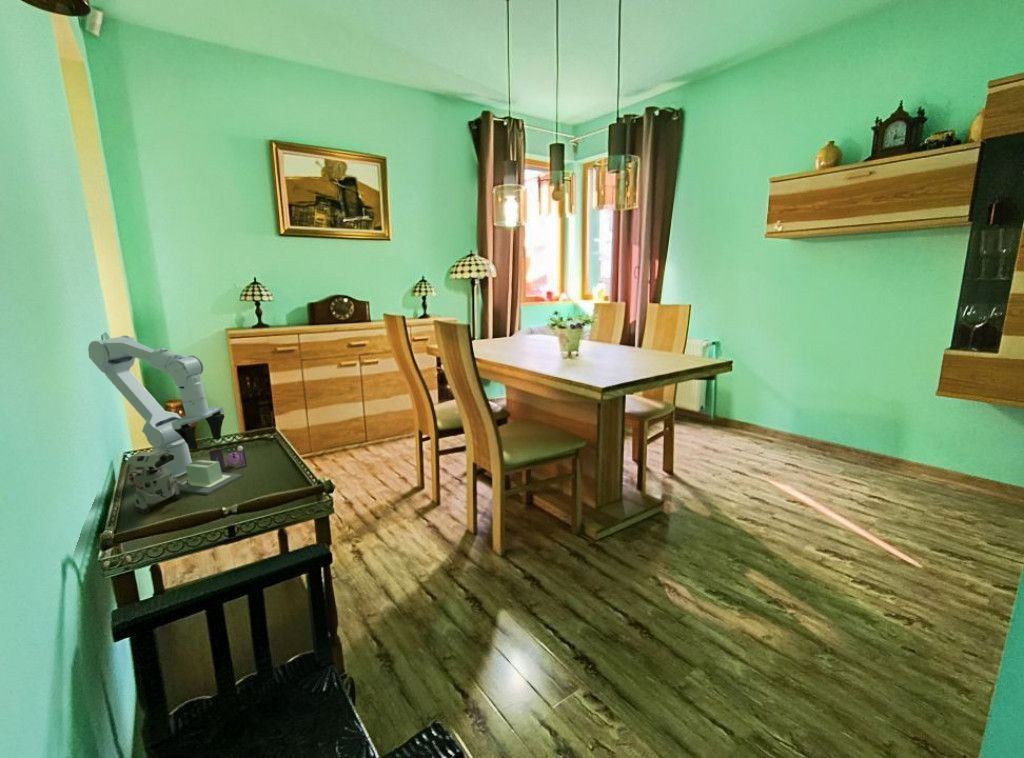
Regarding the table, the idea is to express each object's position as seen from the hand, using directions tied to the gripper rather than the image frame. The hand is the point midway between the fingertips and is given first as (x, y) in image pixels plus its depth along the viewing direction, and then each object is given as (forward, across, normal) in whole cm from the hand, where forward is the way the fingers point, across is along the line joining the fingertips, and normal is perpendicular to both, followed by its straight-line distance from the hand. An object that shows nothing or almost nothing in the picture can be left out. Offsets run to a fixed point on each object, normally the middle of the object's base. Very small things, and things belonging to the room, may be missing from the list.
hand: (205, 443), depth 138 cm
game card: (+10, +5, -2) cm, 11 cm away
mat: (+10, -6, -3) cm, 11 cm away
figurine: (+10, -18, -5) cm, 21 cm away
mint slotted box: (+9, -5, -3) cm, 11 cm away
